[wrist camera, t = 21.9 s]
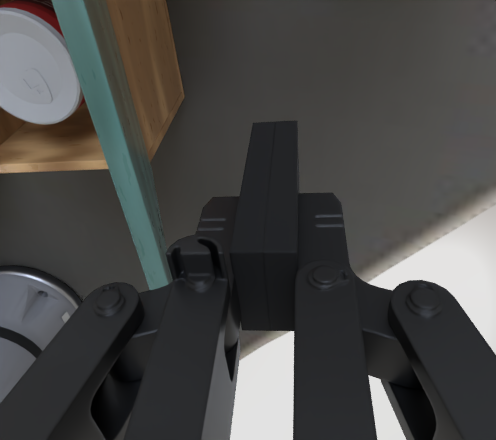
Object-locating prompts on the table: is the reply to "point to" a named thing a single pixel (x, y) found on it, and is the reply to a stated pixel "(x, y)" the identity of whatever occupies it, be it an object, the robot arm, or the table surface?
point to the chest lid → (116, 126)
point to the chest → (80, 123)
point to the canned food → (36, 64)
